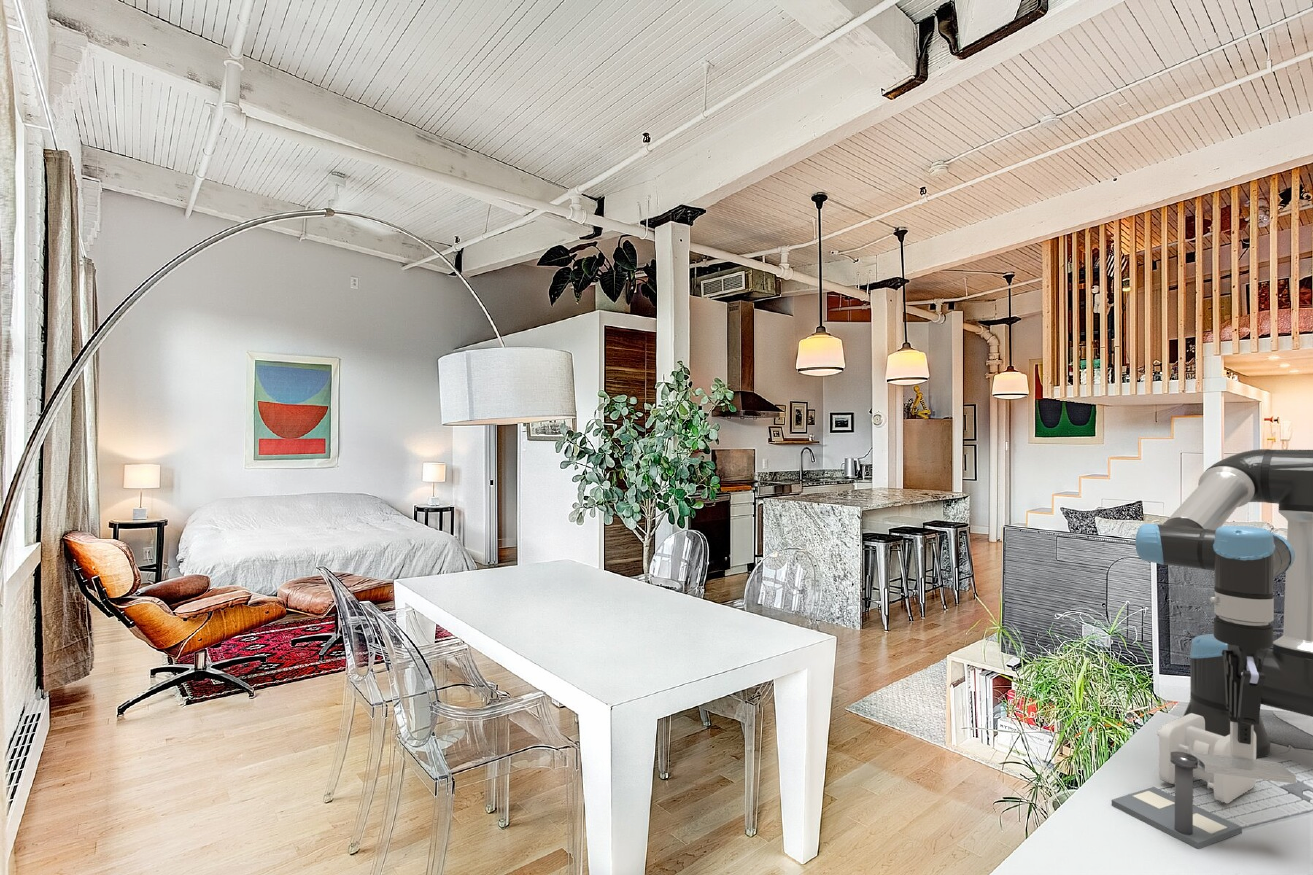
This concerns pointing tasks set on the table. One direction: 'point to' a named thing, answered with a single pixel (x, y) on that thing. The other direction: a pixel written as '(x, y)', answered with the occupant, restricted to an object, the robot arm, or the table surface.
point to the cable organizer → (1193, 738)
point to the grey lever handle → (1233, 766)
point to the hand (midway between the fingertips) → (1241, 759)
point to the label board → (1169, 819)
